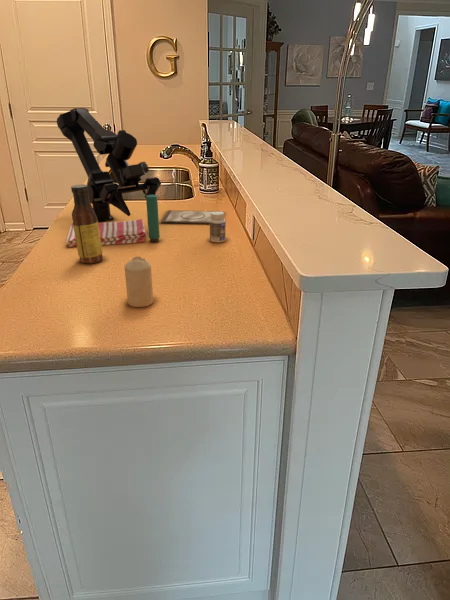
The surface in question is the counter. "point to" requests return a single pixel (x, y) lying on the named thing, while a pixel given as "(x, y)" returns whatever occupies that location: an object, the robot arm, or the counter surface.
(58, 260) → the counter surface
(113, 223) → the dish towel
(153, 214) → the dot marker
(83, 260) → the sauce bottle
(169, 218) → the gray flat panel
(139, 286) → the candle
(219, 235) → the pill bottle
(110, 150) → the robot arm
